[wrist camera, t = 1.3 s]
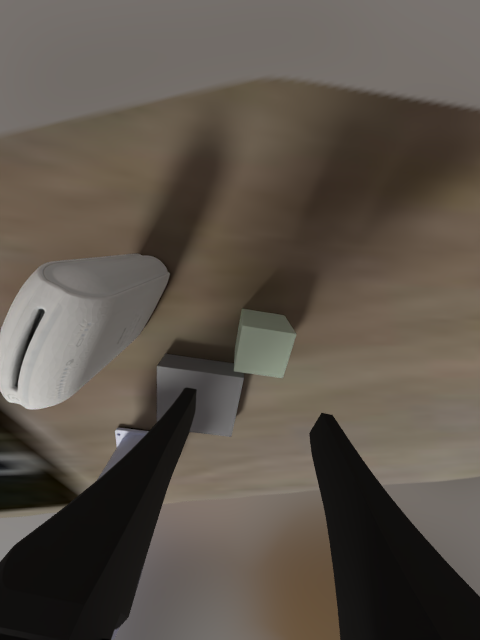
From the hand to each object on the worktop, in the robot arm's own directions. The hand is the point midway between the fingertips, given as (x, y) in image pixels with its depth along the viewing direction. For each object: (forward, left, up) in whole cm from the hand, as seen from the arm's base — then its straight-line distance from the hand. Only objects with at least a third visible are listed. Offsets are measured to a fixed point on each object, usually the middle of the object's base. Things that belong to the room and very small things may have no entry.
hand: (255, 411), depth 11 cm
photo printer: (+1, +13, -12) cm, 18 cm away
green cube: (0, -1, -12) cm, 12 cm away
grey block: (-10, +5, -13) cm, 17 cm away
